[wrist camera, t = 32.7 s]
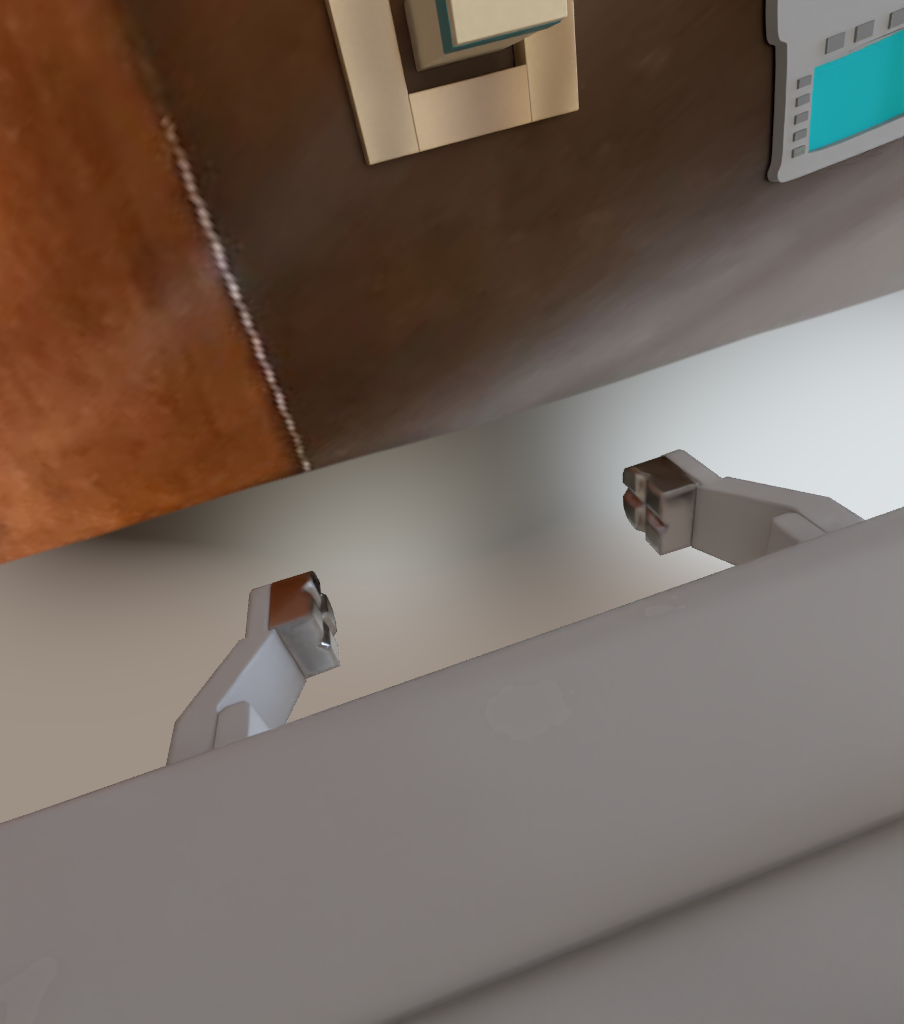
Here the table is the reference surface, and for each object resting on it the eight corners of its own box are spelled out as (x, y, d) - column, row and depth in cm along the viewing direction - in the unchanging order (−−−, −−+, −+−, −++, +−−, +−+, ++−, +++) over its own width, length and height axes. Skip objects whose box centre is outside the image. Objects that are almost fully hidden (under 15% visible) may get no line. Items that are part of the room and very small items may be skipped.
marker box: (415, 73, 32) (456, 46, 24) (401, 0, 30) (441, -55, 22) (501, 51, 33) (569, 18, 25) (493, -22, 31) (563, -84, 23)
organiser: (366, 164, 34) (370, 165, 33) (304, -79, 28) (304, -93, 26) (566, 111, 35) (579, 109, 34) (551, -134, 29) (566, -151, 27)
